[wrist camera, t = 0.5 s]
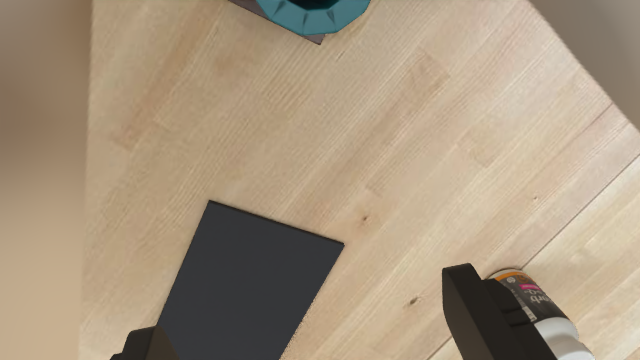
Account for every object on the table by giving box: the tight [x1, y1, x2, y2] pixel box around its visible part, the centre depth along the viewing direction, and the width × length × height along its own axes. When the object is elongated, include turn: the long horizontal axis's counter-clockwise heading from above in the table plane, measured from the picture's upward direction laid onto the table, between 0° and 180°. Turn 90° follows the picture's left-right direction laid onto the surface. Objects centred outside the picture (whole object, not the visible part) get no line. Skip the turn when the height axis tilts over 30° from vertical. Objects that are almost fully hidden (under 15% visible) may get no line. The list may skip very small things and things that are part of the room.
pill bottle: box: [488, 269, 596, 360], centre depth 38 cm, size 6×6×10 cm
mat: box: [156, 200, 345, 360], centre depth 38 cm, size 12×21×1 cm, turn 154°
